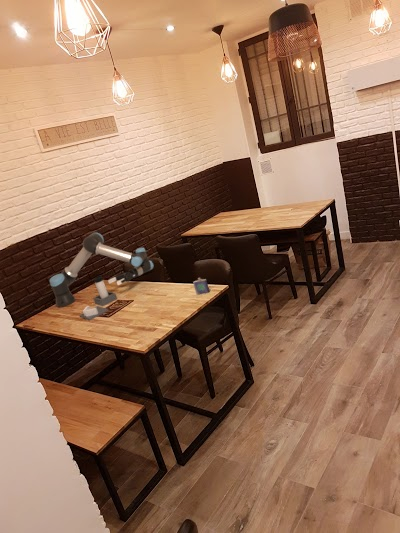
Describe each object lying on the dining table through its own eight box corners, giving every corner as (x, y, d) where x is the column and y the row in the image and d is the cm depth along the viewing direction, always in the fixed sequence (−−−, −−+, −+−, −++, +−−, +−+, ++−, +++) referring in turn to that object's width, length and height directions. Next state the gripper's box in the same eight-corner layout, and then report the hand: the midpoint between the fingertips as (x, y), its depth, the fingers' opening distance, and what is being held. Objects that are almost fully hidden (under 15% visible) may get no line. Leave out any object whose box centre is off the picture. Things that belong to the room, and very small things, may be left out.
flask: (196, 295, 265) (191, 279, 262) (197, 293, 268) (192, 278, 265) (209, 292, 263) (205, 277, 260) (210, 291, 265) (206, 276, 262)
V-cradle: (79, 316, 286) (77, 310, 284) (98, 307, 294) (95, 301, 293) (89, 320, 273) (86, 313, 272) (108, 310, 282) (106, 303, 281)
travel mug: (111, 298, 305) (102, 274, 300) (108, 302, 299) (99, 277, 293) (104, 300, 306) (95, 276, 301) (101, 304, 300) (92, 279, 294)
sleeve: (95, 304, 304) (93, 298, 302) (109, 297, 311) (107, 291, 309) (103, 306, 294) (100, 300, 293) (117, 298, 301) (115, 292, 300)
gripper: (145, 277, 309) (122, 289, 296) (129, 275, 328) (106, 285, 316) (142, 268, 307) (119, 279, 294) (126, 266, 326) (103, 277, 314)
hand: (112, 282), depth 305 cm, fingers open, 13 cm apart
